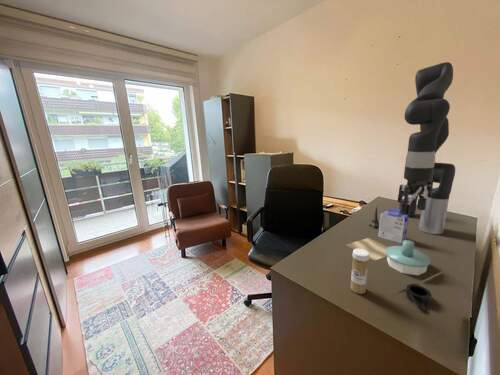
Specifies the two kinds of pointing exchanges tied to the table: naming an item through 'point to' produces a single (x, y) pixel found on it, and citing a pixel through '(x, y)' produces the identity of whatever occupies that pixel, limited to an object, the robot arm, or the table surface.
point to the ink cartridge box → (393, 225)
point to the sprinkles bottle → (359, 270)
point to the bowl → (406, 268)
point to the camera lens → (412, 207)
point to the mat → (370, 248)
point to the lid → (408, 255)
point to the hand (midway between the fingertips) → (413, 211)
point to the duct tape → (418, 295)
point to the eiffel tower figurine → (375, 220)
